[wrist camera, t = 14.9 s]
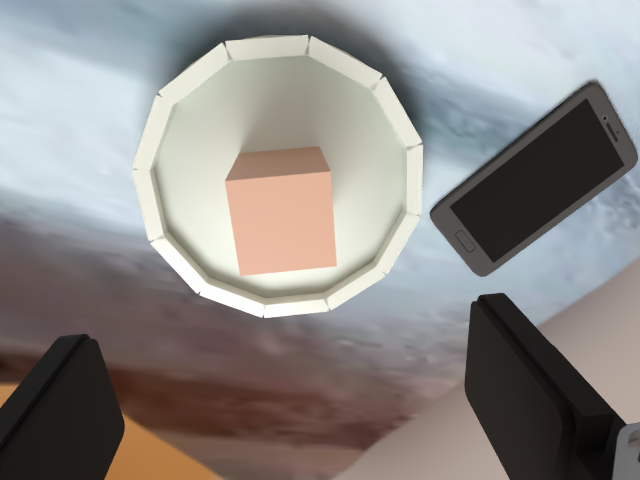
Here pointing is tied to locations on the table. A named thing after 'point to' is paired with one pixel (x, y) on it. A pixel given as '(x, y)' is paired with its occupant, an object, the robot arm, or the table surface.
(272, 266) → the block
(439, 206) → the cell phone
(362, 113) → the dish
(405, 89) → the table surface
